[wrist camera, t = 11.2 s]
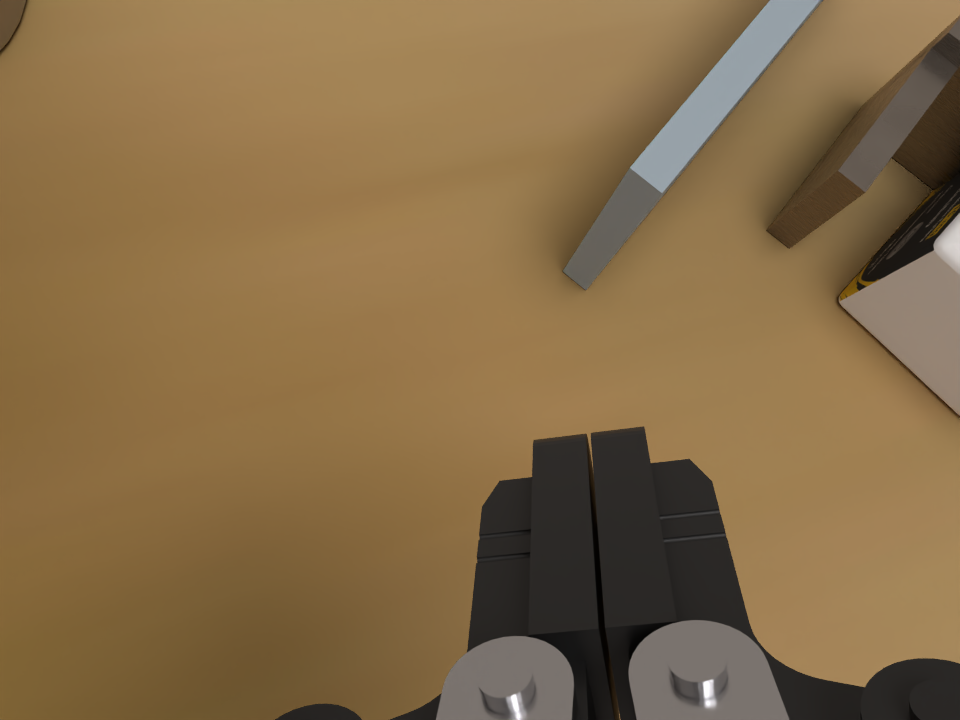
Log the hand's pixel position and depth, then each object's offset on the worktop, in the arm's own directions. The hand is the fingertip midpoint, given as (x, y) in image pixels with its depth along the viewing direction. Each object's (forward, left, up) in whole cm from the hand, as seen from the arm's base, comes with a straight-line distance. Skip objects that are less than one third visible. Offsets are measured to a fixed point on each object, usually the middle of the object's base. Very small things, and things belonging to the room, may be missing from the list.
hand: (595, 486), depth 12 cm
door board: (-3, +19, -22) cm, 29 cm away
